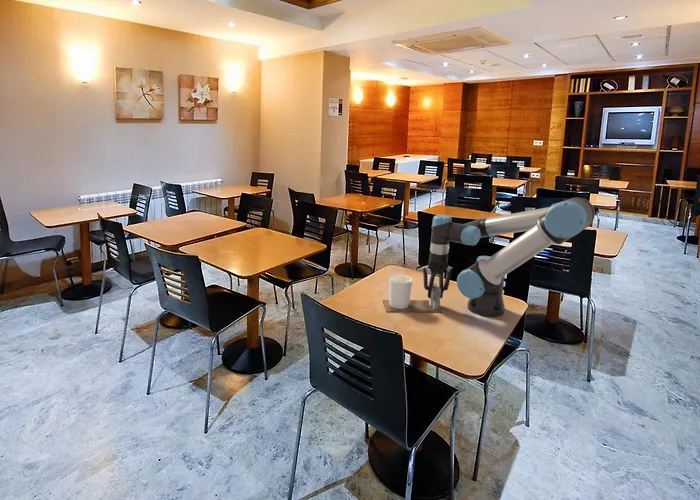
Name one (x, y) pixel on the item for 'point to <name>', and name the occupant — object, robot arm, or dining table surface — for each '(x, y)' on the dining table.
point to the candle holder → (399, 291)
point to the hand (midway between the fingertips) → (434, 304)
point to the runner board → (420, 303)
